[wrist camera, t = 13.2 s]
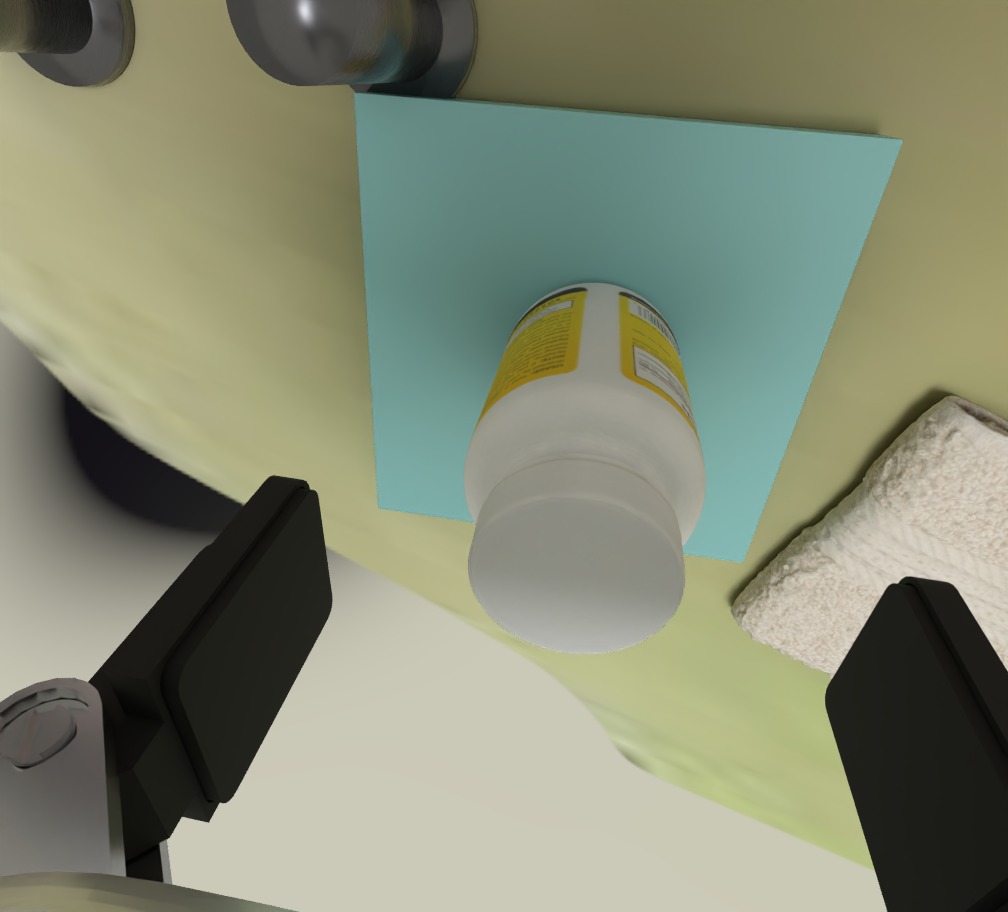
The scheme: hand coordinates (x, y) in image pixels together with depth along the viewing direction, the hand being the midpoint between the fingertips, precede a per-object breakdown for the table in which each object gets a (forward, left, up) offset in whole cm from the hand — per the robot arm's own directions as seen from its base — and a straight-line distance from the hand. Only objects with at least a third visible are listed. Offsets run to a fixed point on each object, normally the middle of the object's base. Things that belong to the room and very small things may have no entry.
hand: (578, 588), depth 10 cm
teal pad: (+1, 0, -12) cm, 12 cm away
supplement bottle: (0, 0, -11) cm, 11 cm away
